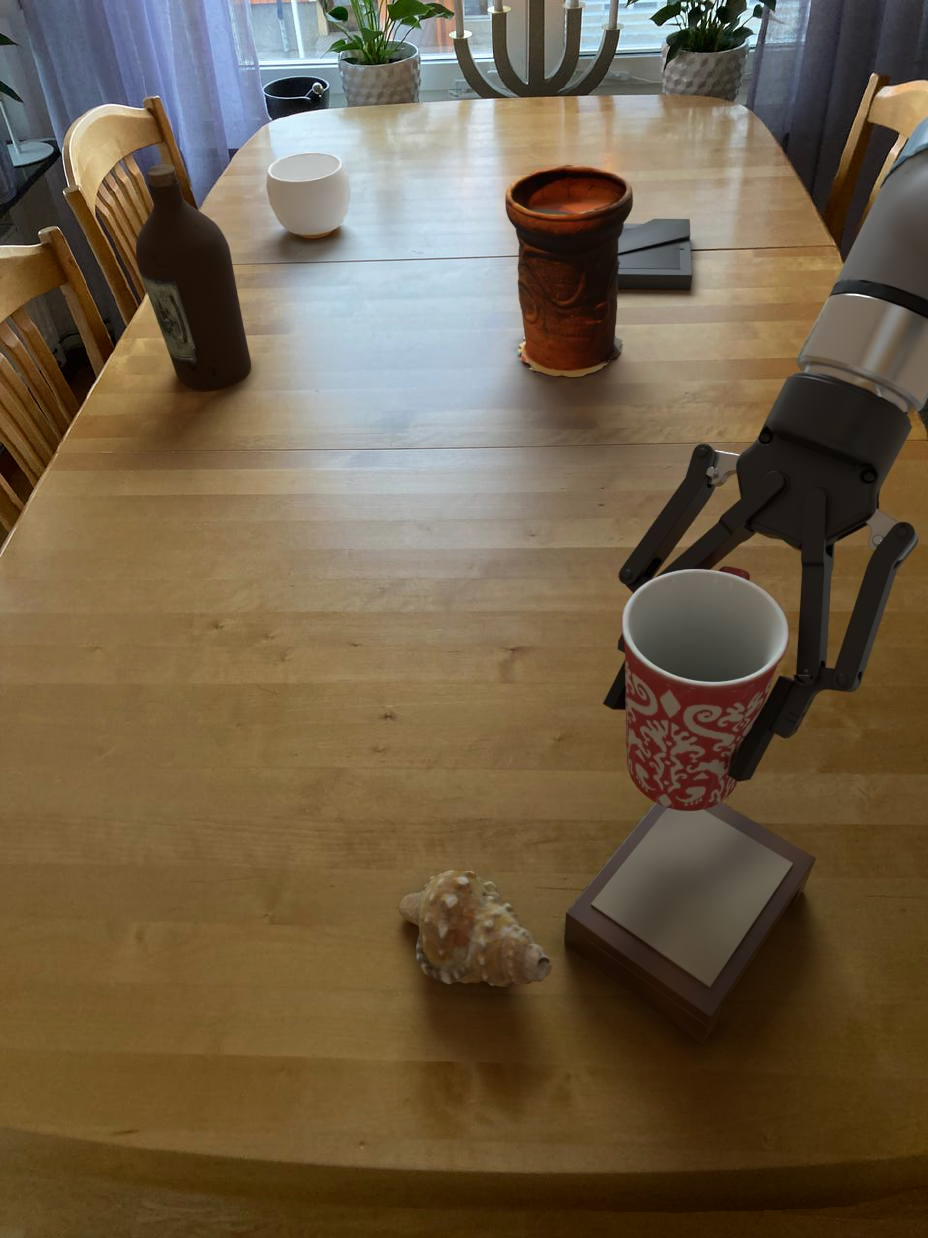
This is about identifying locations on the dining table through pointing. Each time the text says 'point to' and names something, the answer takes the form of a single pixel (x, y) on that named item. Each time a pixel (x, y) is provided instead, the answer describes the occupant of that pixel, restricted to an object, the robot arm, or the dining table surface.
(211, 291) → the olive oil
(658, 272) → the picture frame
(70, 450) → the dining table surface
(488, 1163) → the dining table surface
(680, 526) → the robot arm
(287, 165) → the cup
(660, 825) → the brown rectangular block
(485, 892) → the seashell
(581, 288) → the vessel
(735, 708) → the mug
